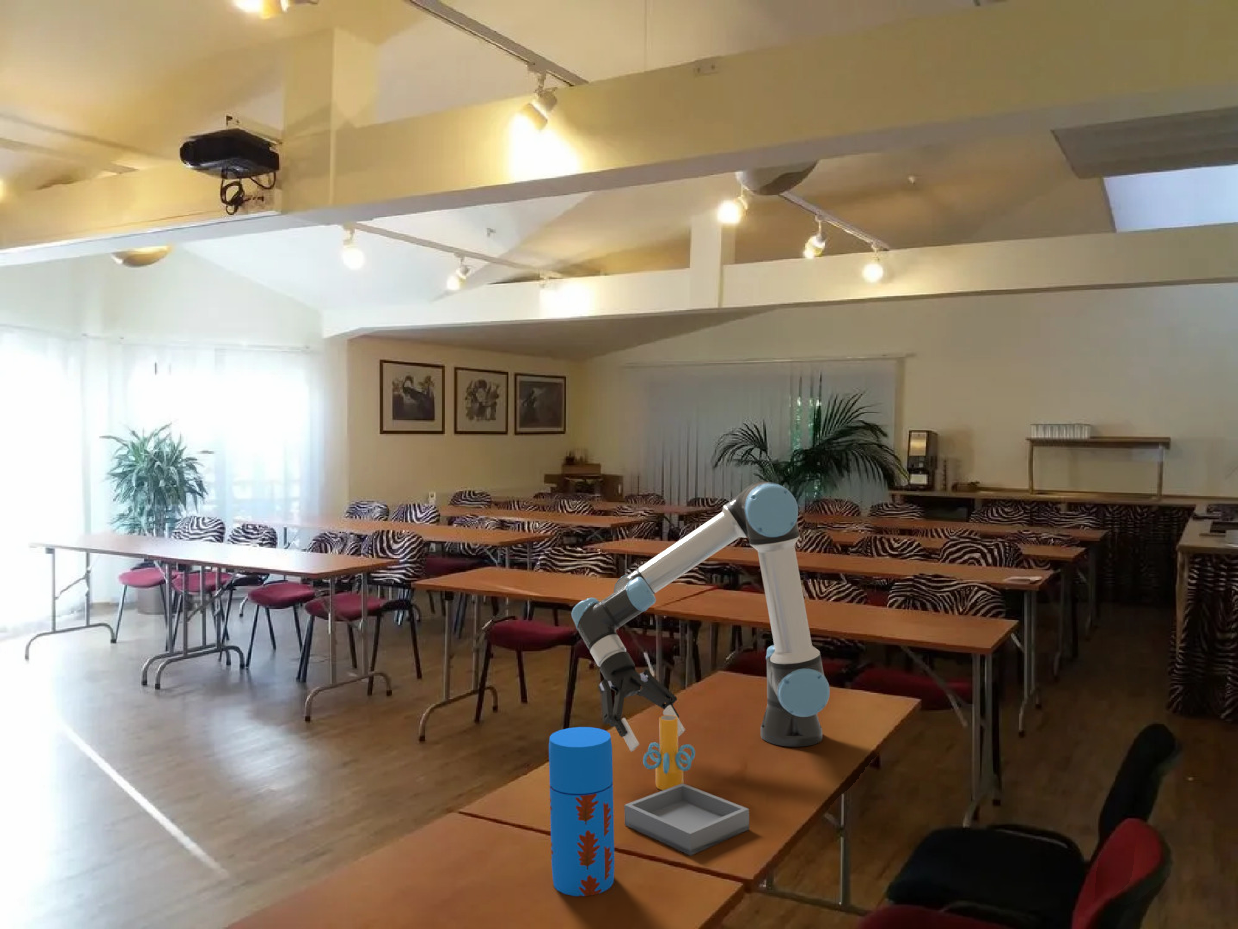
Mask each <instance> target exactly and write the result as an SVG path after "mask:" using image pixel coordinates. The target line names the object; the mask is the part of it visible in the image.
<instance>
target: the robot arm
mask: <svg viewBox="0 0 1238 929" xmlns="http://www.w3.org/2000/svg"><path fill="white" fill-rule="evenodd" d="M798 516H799V506H798V503H797V500H796V498H795V496H794V495H793V493H792V492H791V491H790V490H789V489H788V488H787V487H785V486H783V485H781V484H778V483H775V482H771V481H766V480H765V481H764V480H763V481H757V482H754V483H752V484H750V485H749V486H747V487H746V488H744V489H743V491H741V492H739V494H738V495H736V496H735V497H734V498H733V499H731V500H729V502H726V504H724V505H723V506H722V510H721V512H720V513H717V515H715V516H713V517H712V518H711V519H709V520H708V521H706V522H704V523H702V525H700V526H698V527H696V529H694V530H692V531H691V532H689V533H688V534H686V535H685V536H684V537H682V538H681V539H679V540H677V541H676V542H674V544H672V545H670V546H669V547H667V548H666V549H664V550H663V551H661V552H659V553H658V554H657V555H655V556H654V557H653V558H650V559H649V560H648V561H646V562H644V564H642V565H640V566H639V567H638V568H636V569H634V570H633V571H632V572H630V573H629V574H624V575H622V576H621V577H619V579H618V580H617V581H616V583H615V584H614V586H613V587H614V588H613V592H612V593H611V594H609V596H608V595H607V596H606V597H605V598H604V599H602V600H600V601H599V600H598V599H597V598H595V597H588V598H586V599H584V600H581V601H579V602H578V603H577V604H576V605H575V606H574V607H573V608H572V610H571V618H572V620H573V622H574V625H575V628H576V630H577V631H578V633H579V635H580V637H581V638H582V640H583V642H584V644H585V645H586V647H587V649H588V650H589V653H590V654H591V656H592V658H593V659H594V662H595V664H596V665H597V666H598V667H599V671H600V673H601V674H602V676H603V678H604V679H602V681H601V682H600V684H599V685H598V691H599V692H600V696H601V706H602V707H601V708H602V721H603V724H605V725H608V724H609V726H610V727H611V728H613V727H615V729H616V731H617V734H619V736H620V738H623V739H624V741H625V743H626V745H627V748H629V751H630V752H634V751H635V750H637V748H638V746H639V745H640V742H639V740H638V739H637V737H636V735H635V734H634V732H633V730H632V728H631V726H630V724H629V723H628V721H627V719H626V717H623V718H622V715H623V714H622V713H623V709H624V708H623V707H624V702H625V698H628V697H630V696H636V695H637V696H639V697H643V698H645V699H646V700H648V701H650V702H651V703H653V704H655V705H656V706H658V707H659V708H661V709H663V711H662V714H663V715H674V716H677V717H678V738H679V737H680V736H682V734H683V733H684V732H685V731H686V728H685V727H684V725H683V724H682V722H681V720H680V715H679V713H678V712H677V710H676V708H675V707H674V704H675V703H676V701H677V700H678V698H677V696H676V695H675V694H674V693H672V692H671V691H670V690H669V689H668V688H667V687H666V686H665V685H664V684H662V683H661V682H660V681H659V680H658V679H657V678H655V677H654V676H653V674H652V673H651V672H650V670H649V669H646V668H645V669H644V670H643V672H640V673H639V672H638V671H637V670H636V666H635V662H634V660H633V658H632V657H631V655H630V653H629V652H628V651H627V648H626V646H625V645H624V643H623V642H622V640H621V638H620V636H619V634H618V633H617V629H619V628H621V627H622V626H623V625H625V624H626V623H628V622H629V621H631V620H633V619H634V618H636V617H637V616H638V615H641V614H642V613H643V612H646V611H647V610H648V609H649V608H651V607H652V606H653V605H655V603H656V602H657V599H656V596H655V594H656V593H658V592H659V591H660V590H662V589H663V588H665V587H666V586H668V585H669V584H671V583H672V582H674V581H676V580H677V579H678V578H680V577H682V576H683V575H684V574H686V573H688V572H689V571H690V570H692V569H694V568H696V566H698V565H699V564H701V563H703V562H704V561H705V560H707V559H708V558H710V557H712V556H713V555H715V554H716V553H717V552H720V551H721V550H722V549H723V548H726V547H727V546H728V545H730V544H731V543H733V542H734V541H736V540H737V539H739V538H745V539H746V538H748V541H749V546H750V547H752V548H753V549H755V550H756V551H757V556H758V560H759V561H758V562H759V567H760V572H761V578H762V584H763V589H764V595H765V601H766V605H767V611H768V612H767V613H768V618H769V624H770V627H771V634H772V639H773V640H772V641H773V644H772V645H770V646H768V647H767V649H766V656H765V660H766V696H767V697H766V700H767V703H766V704H767V705H766V709H765V712H764V715H763V719H762V722H761V724H760V737H761V739H762V740H763V741H765V742H767V743H769V744H771V745H777V746H782V747H790V748H791V747H794V748H795V747H796V748H800V747H801V748H802V747H807V746H808V747H809V746H813V745H816V744H818V743H820V742H822V740H823V728H822V725H821V724H820V720H819V716H818V713H821V711H822V710H823V709H824V708H826V705H827V704H828V702H829V699H830V695H831V694H830V693H831V690H830V684H829V682H828V679H827V678H826V676H825V673H824V668H823V662H822V657H821V651H820V650H819V649H817V648H816V647H815V646H813V644H812V638H811V632H810V627H809V619H808V616H807V615H808V614H807V609H806V602H805V599H804V593H803V587H802V582H801V577H800V576H801V575H800V570H799V563H798V557H797V552H796V547H795V545H796V543H797V541H799V539H800V532H799V525H798ZM612 690H613V691H614V692H615V693H614V698H613V699H612ZM613 700H614V703H613Z"/></svg>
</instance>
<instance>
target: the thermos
mask: <svg viewBox="0 0 1238 929" xmlns="http://www.w3.org/2000/svg"><path fill="white" fill-rule="evenodd" d="M611 737H612V736H611V733H610V732H608V731H607V730H605V729H601V728H597V727H592V726H578V727H577V726H576V727H568V728H565V729H564V728H563V729H559V730H557V731H554V732H552V733H551V735H550V736H549V739H548V740H549V742H548V767H549V768H548V769H549V771H548V772H549V774H548V775H549V807H550V808H549V809H550V811H549V813H550V816H549V817H550V850H551V852H550V853H551V854H550V856H551V871H552V872H551V874H552V876H551V877H552V885H554V886H553V888H555V890H556V891H558V892H560V893H562V894H564V895H569V896H572V897H588V896H595V895H596V896H597V895H598V894H601V893H603V892H606V891H607V890H609V889H610V888H612V886H613V884H614V882H615V881H614V880H615V828H614V827H615V826H614V822H615V821H614V817H615V815H614V783H613V782H614V779H613V778H614V776H613V775H614V774H613V772H614V771H613V745H612V738H611Z"/></svg>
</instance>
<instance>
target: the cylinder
mask: <svg viewBox="0 0 1238 929" xmlns="http://www.w3.org/2000/svg"><path fill="white" fill-rule="evenodd" d="M658 723H659V725H658V731H659V734H658V735H659V743H658V742H654V741H653V742H650V744H649V746H648V747H647V751H646V752H645V753H644V755H643V758H642V763H643V765H644V767H645V768H646V769H648V770H655V788H657V789H658V790H660V791H663V790H666V789H668V788H671V787H674V786H676V785H679V784H682V783H683V784H684V772H687V771H689V770H690V769H691V767H692V762H693V760H694V758H695V755H696V750H695V748H694V747H693V745H691V744H688V743H687V744H683V745H681V746H680V747H679V737H678V717H677V716H674V715H664V714H663V715H660V716H659V718H658ZM653 747H656V748H657V749H658V750H657V749H653ZM684 749H688V750H690V752H691V754H690V755H689V753H688V752H687V751H685V750H684ZM654 754H655V755H656V756H657V758H656V757H655V756H654ZM681 755H683V756H684V757H685V758H686V760H685V759H683V758H682V757H681ZM648 757H650V759H651V760H652V761H653V762H655V764H653V765H652V764H649V763H648V760H647V759H648ZM683 765H686V766H683Z"/></svg>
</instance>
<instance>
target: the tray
mask: <svg viewBox="0 0 1238 929" xmlns="http://www.w3.org/2000/svg"><path fill="white" fill-rule="evenodd" d="M623 807H624V826H626V827H628V828H631V829H633V830H634V831H637V832H638V833H641V834H643V835H646V836H647V837H650V838H652V839H654V840H655V841H658V840H659V841H658V842H661V843H662V844H664V845H666V846H669V847H671V848H673V849H675V850H677V851H680V852H681V853H683V852H684V854H686V855H687V856H694V855H695V853H696V854H698V853H700V852H702V851H704V850H707V849H709V848H711V847H713V846H715V845H718V844H720V843H722V842H724V841H727V840H729V839H731V838H733V837H736V836H738V835H740V834H743V833H745V832H747V831H749V830H750V809H749V808H747V807H745V806H742V805H740V804H737V803H735V802H732V801H730V800H727V799H725V798H722V797H720V796H717V795H714V794H712V793H709V792H706V791H704V790H701V789H699V788H696V787H693V786H691V785H688V784H685V783H684V782H683V783H682V784H679V785H676V786H674V787H671V788H668V789H666V790H660V791H657V792H655V793H652V794H649V795H646V796H645V797H641V798H639V799H635V800H633V801H631V802H628V803H626V804H624V806H623Z"/></svg>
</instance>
